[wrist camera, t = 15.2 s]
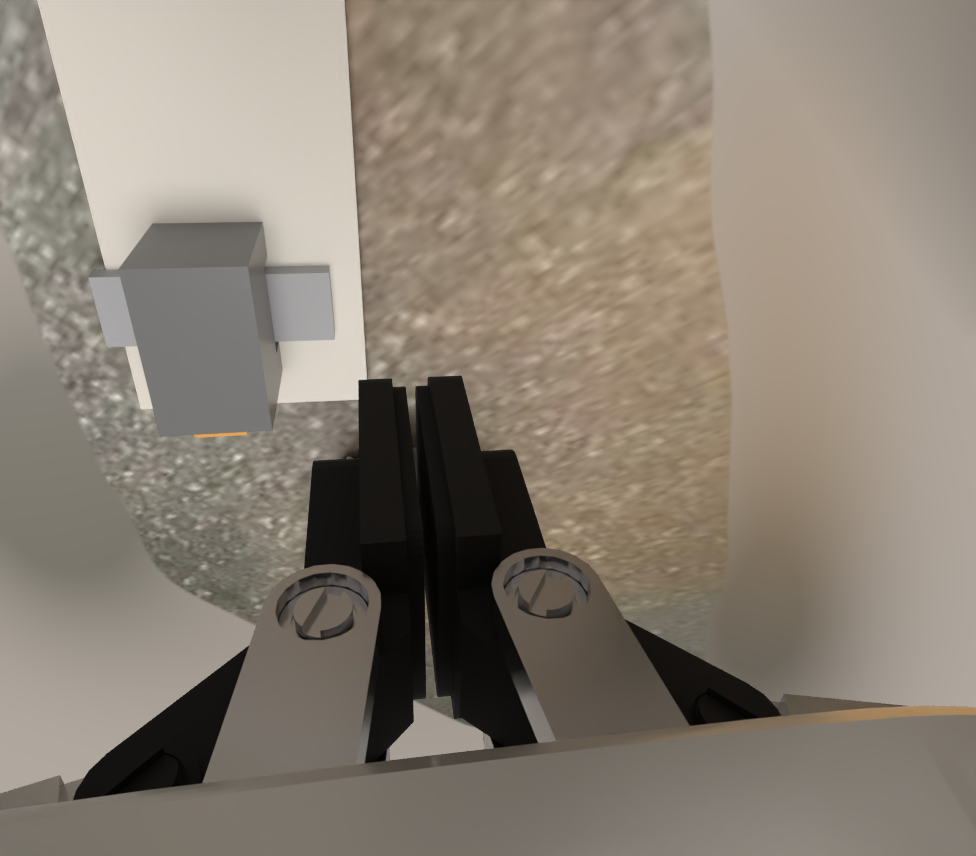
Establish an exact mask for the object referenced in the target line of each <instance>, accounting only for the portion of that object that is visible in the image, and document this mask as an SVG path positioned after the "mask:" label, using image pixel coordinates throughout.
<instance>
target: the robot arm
mask: <svg viewBox="0 0 976 856" xmlns="http://www.w3.org/2000/svg"><path fill="white" fill-rule="evenodd" d="M415 394H416V450H417V479H416V470H415V462H414V454H413V445H412V437H411V429H410V421H409V412H408V404H407V396H406V388H405V387H393V386H392V379H369V380H358V397H359V458H354V459H337V460H319V461H314V462H313V466H312V477H311V489H310V502H309V514H308V527H307V540H306V552H305V565H304V569H302V570H299V571H297V572H295V573H293V574H291V575H290V576H288V577H286V578H284V579H283V580H282V581H281V582H279V583H278V584H277V585H276V586H275V587H274V588H273V589H272V590H271V592H270V593H269V595H268V597H267V599H266V600H265V602H264V605H263V607H262V610H261V613H260V616H259V619H258V622H257V625H256V628H255V631H254V634H253V637H252V640H251V643H250V645H249V646H248V647H247V648H245V649H244V650H243V651H241V652H240V653H239V654H237V655H236V656H235V657H233V658H232V659H231V660H230V661H228V662H227V663H226V664H224V665H223V666H222V667H221V668H219V669H218V670H216V671H215V672H214V673H212V674H211V675H210V676H208V677H207V678H206V679H205V680H203V681H202V682H201V683H199V684H198V685H197V686H195V687H194V688H193V689H191V690H190V691H189V692H188V693H186V694H185V695H183V696H182V697H181V698H180V699H178V700H177V701H176V702H174V703H173V704H172V705H170V706H169V707H168V708H166V709H165V710H164V711H163V712H161V713H160V714H159V715H157V716H156V717H155V718H153V719H152V720H151V721H149V722H148V723H147V724H145V725H144V726H143V727H141V728H140V729H139V730H137V731H136V732H135V733H134V734H132V735H131V736H130V737H128V738H127V739H126V740H124V741H123V742H122V743H120V744H119V745H118V746H116V747H115V748H114V749H113V750H111V751H110V752H109V753H107V754H106V755H105V756H104V757H103V758H102V759H101V760H100V761H99V762H98V763H97V764H96V765H95V766H93V767H92V768H91V769H90V770H89V772H88V773H87V775H86V776H85V778H83V779H79V780H76V781H73V782H70V783H67V784H64V783H63V781H62V779H61V777H60V775H59V776H56V777H53V778H49V779H46V780H43V781H40V782H36V783H33V784H30V785H27V786H23V787H20V788H17V789H13V790H10V791H7V792H4V793H0V856H976V708H973V707H962V706H903V705H892V704H881V703H871V702H862V701H852V700H841V699H832V698H821V697H811V696H801V695H790V694H783V696H782V698H781V701H780V702H773V701H770V700H769V699H768V698H767V697H766V696H765V695H764V694H762V693H761V692H759V691H758V690H756V689H755V688H753V687H752V686H750V685H749V684H747V683H745V682H744V681H742V680H740V679H738V678H736V677H734V676H732V675H730V674H728V673H727V672H724V671H723V670H721V669H719V668H717V667H715V666H713V665H711V664H709V663H707V662H706V661H704V660H702V659H700V658H698V657H696V656H694V655H692V654H690V653H688V652H686V651H685V650H683V649H681V648H679V647H677V646H675V645H673V644H671V643H669V642H667V641H665V640H664V639H662V638H660V637H658V636H656V635H654V634H652V633H650V632H648V631H646V630H644V629H643V628H641V627H639V626H637V625H635V624H633V623H631V622H629V621H627V620H625V619H624V617H623V616H622V614H621V612H620V611H619V609H618V607H617V606H616V604H615V602H614V601H613V599H612V598H611V596H610V594H609V593H608V591H607V589H606V588H605V586H604V584H603V583H602V581H601V580H600V578H599V576H598V575H597V574H596V572H595V571H594V570H593V569H592V568H591V567H590V565H589V564H587V563H586V562H584V561H583V560H581V559H580V558H578V557H577V556H575V555H572V554H569V553H567V552H564V551H561V550H555V549H548V548H546V546H545V543H544V540H543V537H542V534H541V531H540V528H539V524H538V521H537V518H536V515H535V512H534V509H533V506H532V503H531V500H530V497H529V494H528V491H527V487H526V484H525V481H524V478H523V475H522V472H521V469H520V466H519V463H518V460H517V457H516V454H515V452H514V451H513V450H496V451H481V450H480V446H479V442H478V438H477V434H476V430H475V426H474V422H473V418H472V414H471V410H470V407H469V403H468V399H467V395H466V391H465V387H464V383H463V379H462V376H443V377H428V386H416V391H415ZM425 593H426V602H427V611H428V620H429V629H430V638H431V646H432V655H433V664H434V673H435V682H436V690H437V696H438V697H443V696H451V700H452V707H453V715H454V719H457V718H463V719H464V720H466V721H467V722H469V723H470V724H472V725H473V726H475V727H476V728H478V729H479V730H481V731H482V732H483V742H484V748H485V749H484V750H475V751H467V752H458V753H450V754H441V755H432V756H424V757H416V758H407V759H399V760H390V752H389V751H390V750H389V747H390V746H391V745H392V744H393V743H394V742H395V741H396V740H397V739H398V737H399V736H400V735H401V734H402V733H403V732H404V731H405V730H406V729H407V728H408V727H409V726H410V725H411V724H412V723H413V721H414V720H413V719H414V718H413V717H414V716H413V700H414V699H424V698H426V663H425Z"/></svg>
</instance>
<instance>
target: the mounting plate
mask: <svg viewBox="0 0 976 856" xmlns="http://www.w3.org/2000/svg"><path fill="white" fill-rule="evenodd" d="M37 1H38V5H39V9H40V13H41V17H42V21H43V25H44V28H45V32H46V36H47V40H48V44H49V48H50V52H51V56H52V60H53V64H54V68H55V72H56V76H57V80H58V84H59V88H60V92H61V95H62V99H63V103H64V107H65V111H66V115H67V119H68V123H69V127H70V131H71V135H72V139H73V143H74V147H75V151H76V155H77V159H78V162H79V166H80V170H81V174H82V178H83V182H84V186H85V190H86V194H87V198H88V202H89V206H90V210H91V214H92V218H93V222H94V226H95V229H96V233H97V237H98V241H99V245H100V249H101V253H102V257H103V261H104V265H105V269H106V270H94V271H93V272H92V274H91V275H90V276H89V277H88V278H89V282H90V286H91V290H92V293H93V297H94V301H95V305H96V308H97V312H98V316H99V319H100V323H101V327H102V331H103V334H104V338H105V342H106V345H107V347H125V348H126V352H127V356H128V360H129V364H130V367H131V371H132V375H133V379H134V383H135V387H136V391H137V395H138V399H139V403H140V407H141V409H153V407H152V403H151V399H150V395H149V391H148V387H147V383H146V379H145V375H144V371H143V367H142V363H141V359H140V355H139V351H138V347H137V343H136V339H135V335H134V331H133V327H132V323H131V319H130V315H129V311H128V307H127V303H126V299H125V295H124V291H123V287H122V283H121V279H120V275H119V271H118V269H119V268H120V266H121V265H122V264H123V262H124V261H125V260H126V258H127V257H128V255H129V254H130V253H131V251H132V250H133V249H134V247H135V246H136V245H137V243H138V242H139V241H140V239H141V238H142V237H143V235H144V234H145V233H146V231H147V230H148V229H149V227H150V226H151V224H152V223H220V222H263V228H264V235H265V243H266V250H267V259H266V263H265V266H264V267H265V274H266V281H267V288H268V296H269V303H270V310H271V317H272V325H273V332H274V339H275V342H279V347H280V354H281V362H282V369H283V371H282V377H281V383H280V389H279V395H278V401H277V403H292V402H315V401H337V400H359V397H358V380H367V371H366V354H365V337H364V320H363V302H362V285H361V268H360V251H359V234H358V217H357V200H356V183H355V166H354V149H353V132H352V115H351V98H350V81H349V64H348V47H347V30H346V13H345V0H37Z"/></svg>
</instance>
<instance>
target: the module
mask: <svg viewBox="0 0 976 856" xmlns="http://www.w3.org/2000/svg"><path fill="white" fill-rule="evenodd" d="M266 259H267V250H266V243H265V235H264V228H263V222H220V223H152V224H151V226H150V227H149V229H148V230H147V231H146V233H145V234H144V235H143V237H142V238H141V239H140V241H139V242H138V243H137V245H136V246H135V247H134V249H133V250H132V251H131V253H130V254H129V255H128V257H127V258H126V260H125V261H124V262H123V264H122V265H121V266H120V268H119V269H118V271H119V275H120V279H121V283H122V287H123V291H124V295H125V299H126V303H127V307H128V311H129V315H130V319H131V323H132V327H133V331H134V335H135V339H136V343H137V347H138V351H139V355H140V359H141V363H142V367H143V371H144V375H145V379H146V383H147V387H148V391H149V395H150V399H151V403H152V407H153V411H154V415H155V419H156V423H157V427H158V431H159V435H160V437H164V436H183V435H194V436H195V438H198V437H216V436H234V435H247V434H248V432H256V431H272V430H273V424H274V418H275V412H276V406H277V401H278V395H279V389H280V383H281V377H282V371H283V369H282V362H281V354H280V347H279V342H275V339H274V332H273V325H272V317H271V310H270V303H269V296H268V288H267V281H266V274H265V267H264V266H265V263H266Z"/></svg>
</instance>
